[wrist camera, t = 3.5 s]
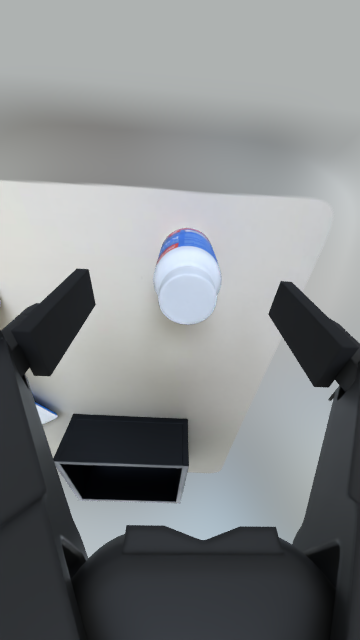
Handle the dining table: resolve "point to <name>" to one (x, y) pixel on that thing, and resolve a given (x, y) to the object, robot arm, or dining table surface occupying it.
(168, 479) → the basin
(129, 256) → the dining table surface
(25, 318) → the robot arm
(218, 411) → the dining table surface
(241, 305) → the dining table surface
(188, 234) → the pill bottle
